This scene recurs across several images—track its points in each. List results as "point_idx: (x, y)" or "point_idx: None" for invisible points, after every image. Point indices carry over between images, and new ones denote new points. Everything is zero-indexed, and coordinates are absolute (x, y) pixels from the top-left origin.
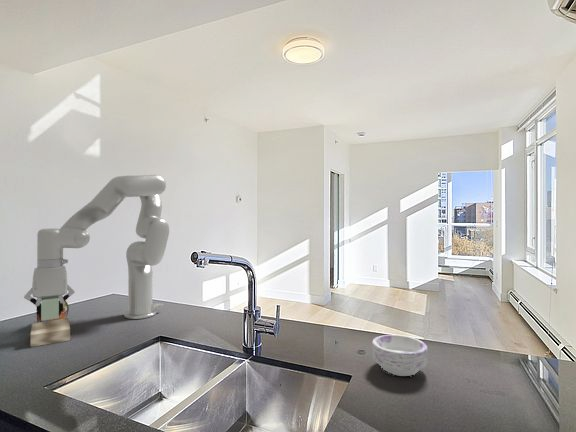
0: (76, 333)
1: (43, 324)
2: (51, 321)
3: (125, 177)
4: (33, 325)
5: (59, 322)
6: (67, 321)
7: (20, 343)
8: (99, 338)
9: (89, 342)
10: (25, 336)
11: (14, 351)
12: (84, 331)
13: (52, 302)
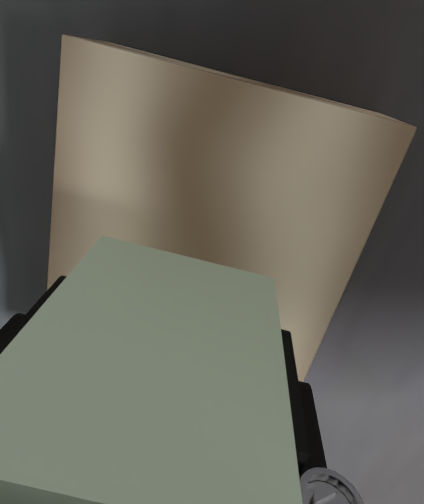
0: (359, 286)
1: (154, 179)
2: (240, 127)
3: None
4: (71, 141)
5: (284, 228)
6: (350, 252)
7: (28, 213)
8: (395, 454)
9: (328, 465)
10: (59, 60)
11: (3, 325)
12: (419, 286)
13: None
